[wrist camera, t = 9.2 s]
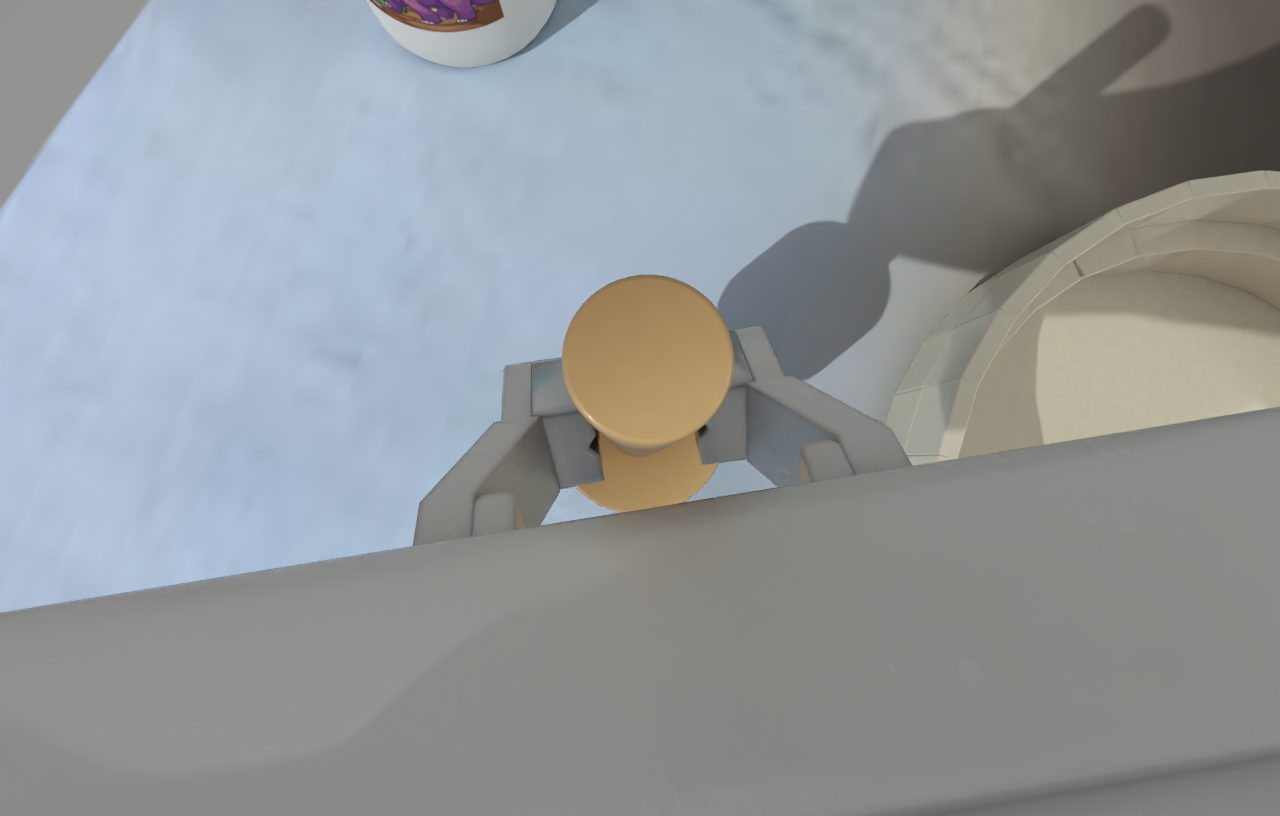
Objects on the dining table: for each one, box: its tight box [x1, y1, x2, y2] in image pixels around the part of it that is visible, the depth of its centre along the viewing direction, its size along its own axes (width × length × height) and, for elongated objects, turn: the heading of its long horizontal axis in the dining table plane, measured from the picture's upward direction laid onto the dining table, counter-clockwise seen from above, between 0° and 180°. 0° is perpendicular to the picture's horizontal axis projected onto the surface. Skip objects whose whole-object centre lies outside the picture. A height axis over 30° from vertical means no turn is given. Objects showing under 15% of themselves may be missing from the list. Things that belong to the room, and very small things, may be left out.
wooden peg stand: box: [562, 275, 734, 513], centre depth 15 cm, size 5×5×15 cm
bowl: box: [885, 170, 1280, 466], centre depth 24 cm, size 21×21×6 cm
